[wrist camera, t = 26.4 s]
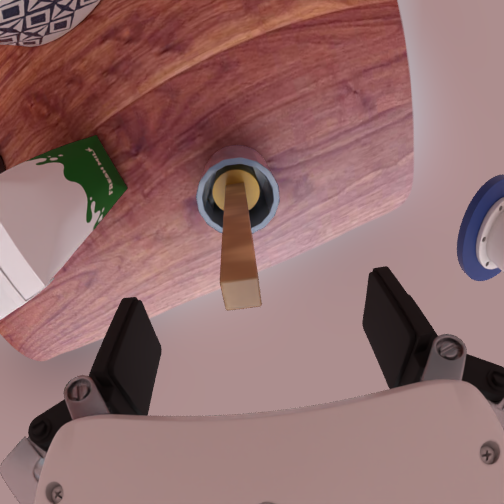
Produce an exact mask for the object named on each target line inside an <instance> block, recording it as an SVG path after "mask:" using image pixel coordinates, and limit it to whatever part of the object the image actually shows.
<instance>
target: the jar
mask: <svg viewBox="0 0 504 504" xmlns="http://www.w3.org/2000/svg"><path fill="white" fill-rule="evenodd" d="M4 171H5V168H4V164H3V161H2V159H1V157H0V174H1V173H3V172H4Z"/></svg>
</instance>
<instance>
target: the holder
mask: <svg viewBox="0 0 504 504" xmlns="http://www.w3.org/2000/svg"><path fill="white" fill-rule="evenodd" d="M234 164H244V165H248V166H252V167H253V169H254V171H255V174H256V177H257V181H258V184H259V188H260V195H259V199H258V201H257V203H256V204H255V206H254V207H253V208H252V209H250V210H249V217H250V224H251V231H252V233H254V232H256V231H258V230H260V229H262V228H264V227H265V226H266V225H267V224H268V223H269V222H270V220H271V219H272V218H273V217H274V216H275V213H276V210H277V207H278V204H279V201H280V198H279V187H278V184H277V182H276V180H275V178H274V176H273V174H272V172H271V170H270V169H269V167H268V165H267V163H266V161H265V160H264V158H263V157H262V156H261V155H260V154H259V153H258V152H257V151H255V150H254V149H252V148H250V147H247V146H243V145H231V146H227V147H224V148H222V149H220V150H219V151H217V152H216V153H214V154H213V156H212V157H211V158H210V159H209V161H208V162H207V164H206V166H205V169H204V171H203V174H202V176H201V179H200V181H199V185H198V190H197V194H196V200H197V205H198V210H199V213H200V214H201V216H202V217H203V219H204V220H205V221H206V223H207V224H208V225H209V226H211V227H212V228H214V229H215V230H217V231H218V232H220V233H222V231H223V215H224V211H223V210H222V209H220V208H219V207H218V206H217V204H216V203H215V201H214V198H213V193H212V191H213V185H214V180H215V175H216V171H218V170H219V169H221V168H223V167H225V166H227V165H234Z"/></svg>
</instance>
